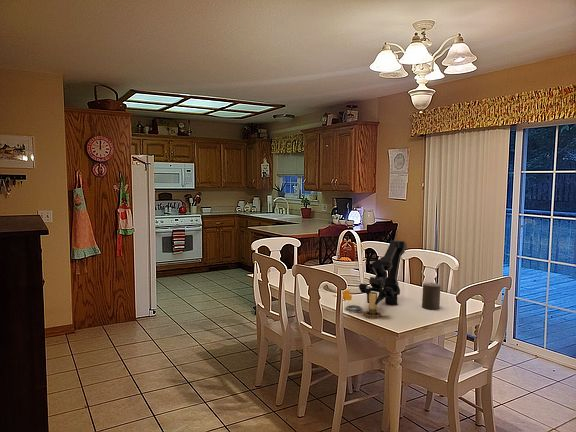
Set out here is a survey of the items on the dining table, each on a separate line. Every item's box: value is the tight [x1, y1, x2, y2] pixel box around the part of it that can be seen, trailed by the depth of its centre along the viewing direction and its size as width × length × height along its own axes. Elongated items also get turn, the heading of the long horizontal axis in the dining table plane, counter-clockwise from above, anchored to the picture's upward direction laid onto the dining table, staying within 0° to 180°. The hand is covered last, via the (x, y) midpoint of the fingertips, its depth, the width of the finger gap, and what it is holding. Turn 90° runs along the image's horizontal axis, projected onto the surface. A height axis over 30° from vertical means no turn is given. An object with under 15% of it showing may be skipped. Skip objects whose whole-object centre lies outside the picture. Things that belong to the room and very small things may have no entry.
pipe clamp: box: [342, 289, 353, 302], centre depth 269 cm, size 12×4×6 cm, turn 23°
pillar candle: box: [421, 282, 441, 311], centre depth 250 cm, size 10×10×15 cm
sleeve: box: [367, 291, 378, 315], centre depth 232 cm, size 4×4×12 cm
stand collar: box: [363, 310, 382, 320], centre depth 233 cm, size 9×9×1 cm
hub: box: [344, 304, 364, 313], centre depth 244 cm, size 10×10×1 cm
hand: (371, 303), depth 231 cm, fingers closed on sleeve, 4 cm apart
